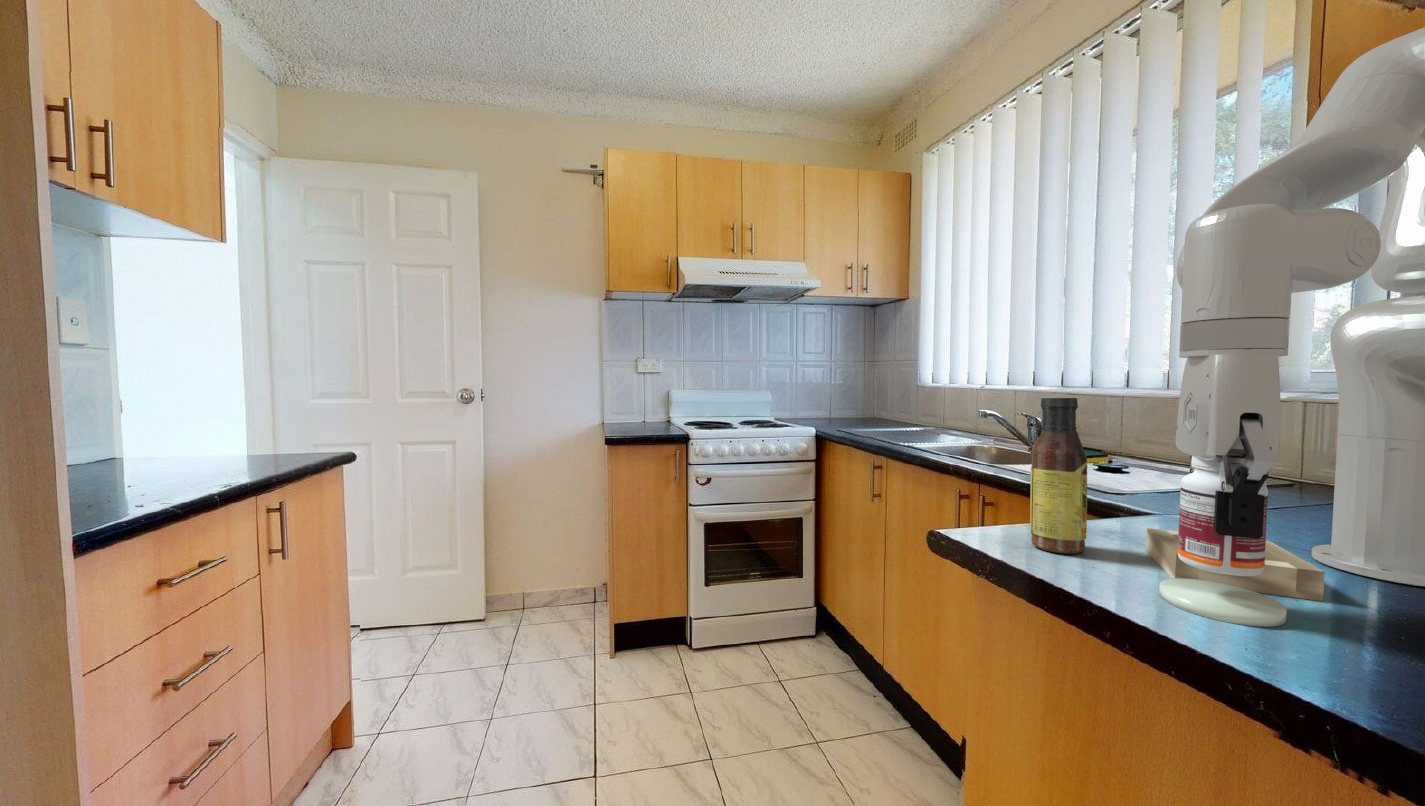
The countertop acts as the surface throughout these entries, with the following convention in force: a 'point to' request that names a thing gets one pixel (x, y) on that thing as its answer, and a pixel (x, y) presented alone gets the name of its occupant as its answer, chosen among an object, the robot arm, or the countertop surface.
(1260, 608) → the saucer
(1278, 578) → the wooden square frame
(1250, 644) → the countertop surface
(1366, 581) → the countertop surface
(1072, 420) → the sauce bottle
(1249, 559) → the pill bottle
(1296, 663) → the countertop surface
